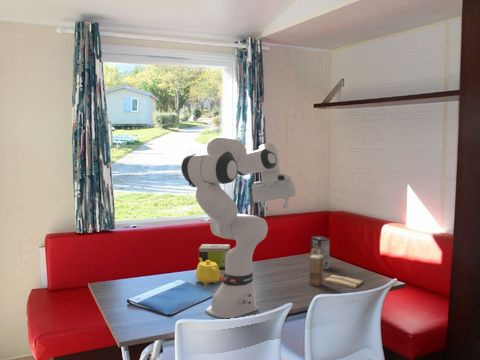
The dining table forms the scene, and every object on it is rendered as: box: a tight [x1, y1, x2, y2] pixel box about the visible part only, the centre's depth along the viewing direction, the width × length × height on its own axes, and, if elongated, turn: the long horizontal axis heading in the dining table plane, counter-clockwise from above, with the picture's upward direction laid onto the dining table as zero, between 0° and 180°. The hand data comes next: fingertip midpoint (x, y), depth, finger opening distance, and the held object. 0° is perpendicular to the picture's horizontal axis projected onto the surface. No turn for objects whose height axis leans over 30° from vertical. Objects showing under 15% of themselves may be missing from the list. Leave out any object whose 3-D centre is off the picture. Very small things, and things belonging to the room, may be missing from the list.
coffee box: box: [310, 235, 331, 270], centre depth 256 cm, size 9×6×16 cm
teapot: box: [195, 256, 220, 286], centre depth 231 cm, size 18×11×11 cm, turn 29°
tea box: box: [198, 243, 231, 276], centre depth 244 cm, size 15×10×15 cm, turn 84°
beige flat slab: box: [323, 274, 364, 289], centre depth 231 cm, size 10×16×1 cm, turn 54°
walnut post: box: [309, 254, 324, 287], centre depth 227 cm, size 4×4×14 cm
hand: (275, 209), depth 215 cm, fingers open, 8 cm apart
